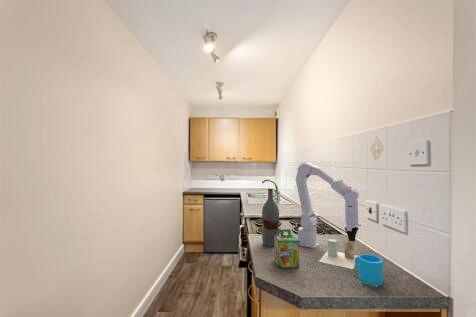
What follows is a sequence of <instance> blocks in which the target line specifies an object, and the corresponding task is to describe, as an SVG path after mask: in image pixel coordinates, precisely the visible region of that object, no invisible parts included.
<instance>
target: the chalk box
mask: <svg viewBox="0 0 476 317" xmlns="http://www.w3.org/2000/svg"><path fill="white" fill-rule="evenodd" d="M291 231H292V229H290V228H287V229H286V228H285V229H283V228H282V229H280V231H279V233H280V234H279V235H274V247H273V255H274V256H273V260H274V262H275V264H276V267H277V268H278V269H285V268H289V269H291V268H293V269H294V268H295V269H296V268H297V269H299V267H300V266H299V264H300V245H299V241H298V237H296V236H295V235H294V234H292V232H291ZM285 232H286V233H287V234H284V233H285Z"/></svg>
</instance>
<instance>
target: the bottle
mask: <svg viewBox="0 0 476 317" xmlns="http://www.w3.org/2000/svg"><path fill="white" fill-rule="evenodd" d="M279 210H280V209H279V206H278V205H277V203H276V201H275V200H274V189H273V188H268V189H267V200H266V201H265V203H264V204H263V206H262V210H261V218H262V234H261V240H262V244H263V245H264V246H265V247H268V248H269V247H270V248H271V247H272V248H274V235H280V231H279V219H280V211H279Z"/></svg>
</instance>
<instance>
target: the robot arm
mask: <svg viewBox="0 0 476 317" xmlns="http://www.w3.org/2000/svg"><path fill="white" fill-rule="evenodd" d="M310 176H317V177H319V178H321V179H322V180H323V181H324V182H327V183H328V184H329V185H330V189H332V190H333V191H335V193H338V195H340V196H341V197H342V198H343V199H344V202H345V203H344V226H345V227H344V230H345V232H346V235H347V238H348V241H354V243H355V241H356V237H357V233H358V230H359V227H361V226H362V223H359V205H358V203H359V201H358V199H359V197H360V196H359V195H360V194H359V192H358V191H357V189H355V188H353V187H352V186H351V185H350V186H349V185H347V184H346V183H345V182H344V180H343V179H339V178H337V179H335V178H333V177H332V176H331V175H330V174H328V173H327V172H326V171H325V170H323V168H321V167H319V165H316V164H314V162H302V163H301V164H300V165H299V166H298V167H297V173H296V176H295V183H296V189H297V194H298V198H299V202H300V207H301V214H300V218H301V219H300V226H301V227H298V228H297V240H298V241H299V246H300V247H301V246H302V247H306V248H307V247H308V248H312V249H315V248H317V247H318V245H319V243H318V241H317V225H318V223H319V219H318V217H317V216H316V214H315V211H314V209H313V208H312V203H311V198H310V193H309V190H308V184H307V180H308V179H309V177H310Z"/></svg>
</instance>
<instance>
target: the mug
mask: <svg viewBox="0 0 476 317" xmlns="http://www.w3.org/2000/svg"><path fill="white" fill-rule="evenodd" d="M357 256H358V257H356V259H355V268H356V270H357V271H358V278H359V280H360V281H361V283H364V284H366V285H369V286H376V287H377V286H381V285H383V283H384V261H383V260H384V259H382V258H381V257H380V256H377V255H373V254H359V255H357Z"/></svg>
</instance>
